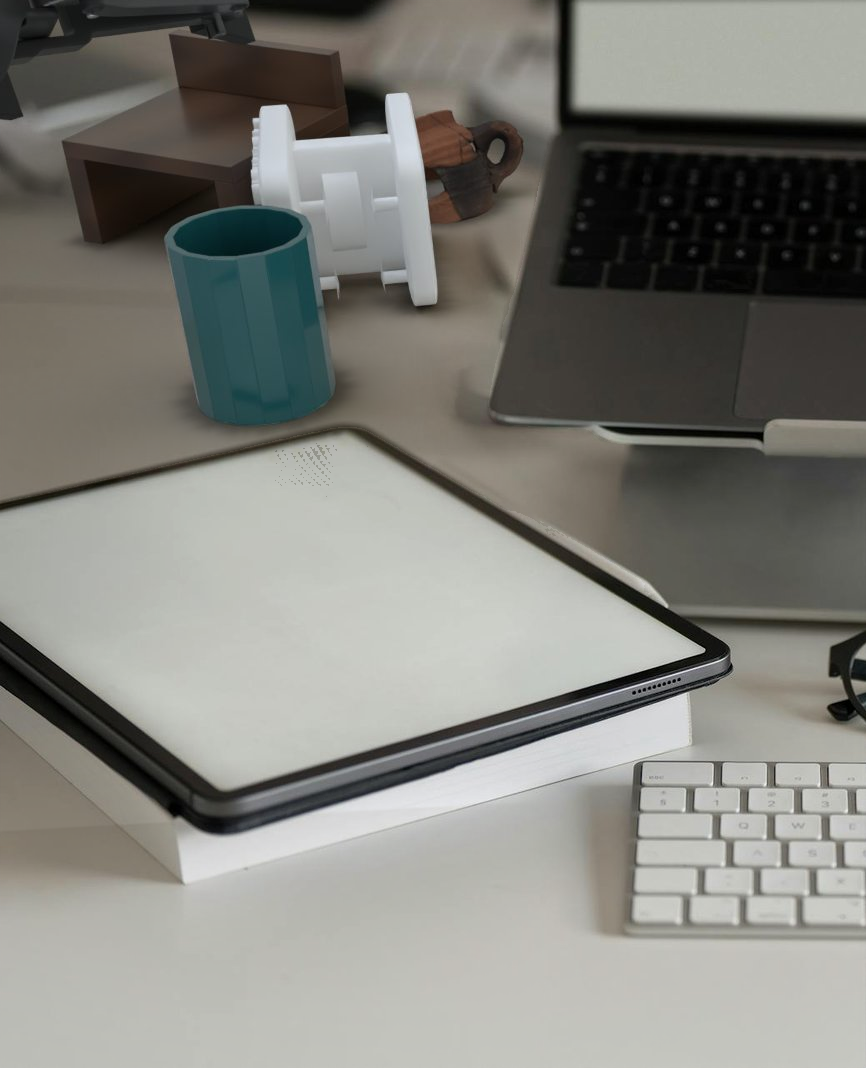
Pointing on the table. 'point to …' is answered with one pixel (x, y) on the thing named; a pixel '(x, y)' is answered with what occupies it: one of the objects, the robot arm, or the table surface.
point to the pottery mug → (464, 163)
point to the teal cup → (252, 313)
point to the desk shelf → (200, 130)
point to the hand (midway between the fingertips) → (124, 56)
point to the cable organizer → (353, 196)
